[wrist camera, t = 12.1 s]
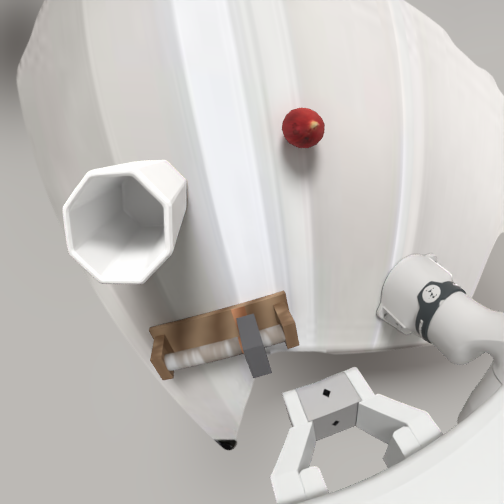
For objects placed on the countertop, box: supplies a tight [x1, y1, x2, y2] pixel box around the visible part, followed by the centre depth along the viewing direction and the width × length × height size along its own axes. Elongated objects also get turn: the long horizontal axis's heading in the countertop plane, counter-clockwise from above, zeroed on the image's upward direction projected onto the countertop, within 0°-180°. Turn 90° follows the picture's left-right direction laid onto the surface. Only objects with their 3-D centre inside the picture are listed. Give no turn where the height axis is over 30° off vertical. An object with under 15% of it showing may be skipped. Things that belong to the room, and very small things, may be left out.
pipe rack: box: [149, 291, 299, 380], centre depth 45 cm, size 25×8×8 cm, turn 104°
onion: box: [282, 108, 325, 148], centre depth 34 cm, size 6×6×8 cm
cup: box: [63, 160, 187, 284], centre depth 30 cm, size 11×11×18 cm
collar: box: [236, 313, 272, 378], centre depth 42 cm, size 3×6×8 cm, turn 14°
